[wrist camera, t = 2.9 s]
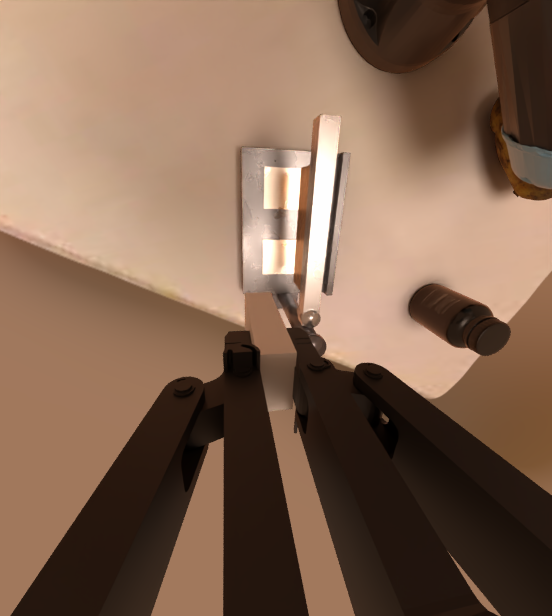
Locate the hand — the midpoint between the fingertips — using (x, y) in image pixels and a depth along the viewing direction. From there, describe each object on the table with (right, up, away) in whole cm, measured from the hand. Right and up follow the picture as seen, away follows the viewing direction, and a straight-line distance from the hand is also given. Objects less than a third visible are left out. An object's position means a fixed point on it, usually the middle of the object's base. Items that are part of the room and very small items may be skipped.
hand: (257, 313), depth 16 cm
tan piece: (+4, +9, +13) cm, 17 cm away
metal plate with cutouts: (+3, +11, +19) cm, 22 cm away
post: (+2, +2, +23) cm, 23 cm away
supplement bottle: (+26, +1, +28) cm, 38 cm away
